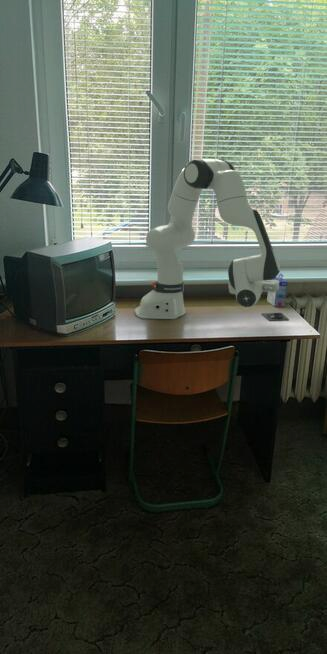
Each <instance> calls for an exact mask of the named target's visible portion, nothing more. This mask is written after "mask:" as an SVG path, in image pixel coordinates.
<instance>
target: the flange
mask: <svg viewBox="0 0 327 654" xmlns="http://www.w3.org/2000/svg"><path fill="white" fill-rule="evenodd" d="M261 316H263V317H264V318H265V319H266V320H267V321H268V322H277V321H279V322H280V321H289V320H290V319H289V318H288V317H287V316H286V315H284V313H282V312H265V313H264V312H263V313H261Z"/></svg>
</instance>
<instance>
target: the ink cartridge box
mask: <svg viewBox="0 0 327 654" xmlns="http://www.w3.org/2000/svg"><path fill="white" fill-rule="evenodd" d="M283 278H284V274H282V273H280V272H279V274H278V275H277V276H276V277H275V278H274V279H273V280H278V281H279V290H277V291H276V292H267V297H266V301H267V302H268V303H269V304H270V305H271V306H273V307H274V308H275V307H276V308H277V307H280V308H281V307H285V306H286V305H285V304H286V297H287V296H286V295H287V288H288V281H287V280H285V279H283Z"/></svg>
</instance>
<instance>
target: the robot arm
mask: <svg viewBox="0 0 327 654" xmlns="http://www.w3.org/2000/svg"><path fill="white" fill-rule="evenodd" d="M174 183H175V184H173V185H174V186H173V189H172V192H171V195H170V198H169V201H168V204H167V211H168V214H169V215H170V217H169V218H170V219H169V222H168V223H167V224H164V225H158V226H155V227H154V228H152V229H149V231H148V232H147V234H146V237H145V239H146V240H145V242H146V246H147V247H148V249H149V251H151V252H152V253H153V255H154V257H155V260H156V264H157V265H156V266H157V267H156V268H157V280H156V281H154V280H151V282H150V285H151V286H152V289H151V290H150V291H149V292H148V293H147V294H145V295H144V296H143V297H142V298H141V300H140V303H139V306H138V307H136V308H135V309H134V314H135V316H136V317H138V318H140V319H154V320H157V319H159V320H176V319H177V318H179V317H181V316H184V315H185V314H186V309H185V305H184V290H185V283H184V264H183V263H182V261H181V260H179V258H178V254H177V253H178V252H177V250H181V249H184V248H186V247H188V246H189V245H192V244H193V243H194V240H195V237H196V232H195V230H194V228H193V218H194V214H195V210H196V207H197V204H198V203H199V199H200V196H201V193H202V191H203V190H212V191H214V193H215V199H216V204H217V211H218V213H219V217H220V218H221V220H222V221H224V222H225V223H226V224H229V225H231V226H238V227H242V228H243V227H244V228H248V229H250V230H252V231H253V233H254V234H255V238H256V241H257V244H258V246H259V248H260V251H261V252H260V253H259V254H254V255H250V256H243V257H238V258H235V259H233V260H232V261H231V262H230V264H229V266H228V268H227V269H228V271H227V274H228V275H227V276H228V287H227V288H228V291H229V294H231V295H235V298H236V301H237V303H238V305H240V306H241V307H243V308H250V307H253V306H254V305H255V306H256V304H257V303H259V300H260V298H261V295H262V293H263V292H265V293H268V292H276V291H277V290H279V281H278V280H273V279H274V278H275V277H278V276H279V275H280V272H281V266H280V261H279V259H278V256H277V254H276V253H275V251H274V249H273V245H272V243H271V240H270V237H269V235H268V233H267V230H266V229H267V228H266V227H265V224H264V221H263V219H262V216H261V214H260V213H259V211H258V210H257V209H254V208H252V207H251V205H250V203H249V201H248V198H247V191H246V188H245V185H244V181H243V179H242V175H241V174H240V173H239V172H238V171H237V170H236V169H235V167H234V165H233V164H232V163H230V161H227V160H225V159H217V158H194V159H192V160H190V161H188V162H187V163H186V164H185V167H184V168H182V170H181V171H180V173H179V175H178V176H177V179H176V180H175V182H174Z"/></svg>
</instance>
